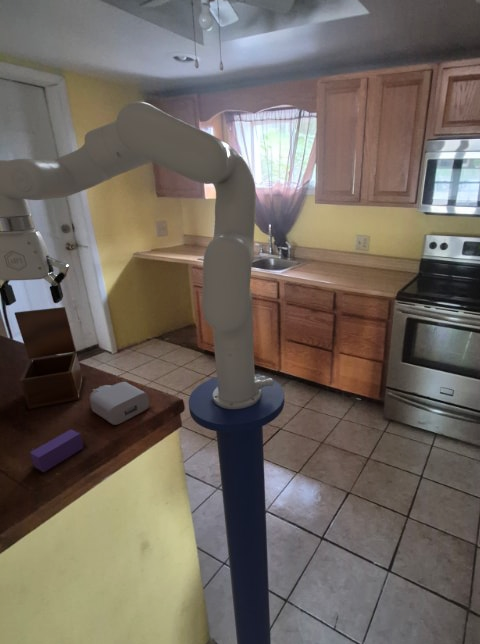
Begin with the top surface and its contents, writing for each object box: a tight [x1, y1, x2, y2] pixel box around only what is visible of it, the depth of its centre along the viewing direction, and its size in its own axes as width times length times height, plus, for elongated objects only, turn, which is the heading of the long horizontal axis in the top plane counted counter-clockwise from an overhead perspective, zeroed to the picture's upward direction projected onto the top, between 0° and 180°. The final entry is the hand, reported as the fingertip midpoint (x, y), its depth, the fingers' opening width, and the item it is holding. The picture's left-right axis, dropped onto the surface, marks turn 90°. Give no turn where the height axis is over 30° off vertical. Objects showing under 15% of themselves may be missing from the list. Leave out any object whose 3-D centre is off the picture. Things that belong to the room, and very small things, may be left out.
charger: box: [89, 381, 150, 426], centre depth 89 cm, size 5×9×15 cm
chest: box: [19, 352, 84, 410], centre depth 94 cm, size 12×11×8 cm
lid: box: [14, 306, 77, 360], centre depth 96 cm, size 12×11×5 cm
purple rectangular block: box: [29, 429, 84, 473], centre depth 73 cm, size 8×3×4 cm, turn 152°
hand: (35, 302), depth 84 cm, fingers open, 9 cm apart
